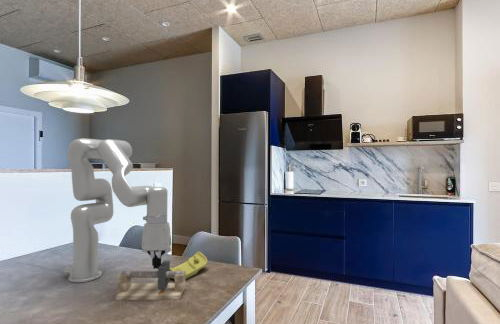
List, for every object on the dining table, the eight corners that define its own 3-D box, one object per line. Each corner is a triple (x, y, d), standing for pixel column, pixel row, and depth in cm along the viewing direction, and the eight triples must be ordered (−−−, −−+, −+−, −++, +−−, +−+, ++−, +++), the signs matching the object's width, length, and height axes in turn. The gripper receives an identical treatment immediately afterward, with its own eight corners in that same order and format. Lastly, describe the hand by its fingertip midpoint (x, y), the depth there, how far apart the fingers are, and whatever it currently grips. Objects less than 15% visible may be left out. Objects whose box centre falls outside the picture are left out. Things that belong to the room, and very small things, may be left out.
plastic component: (179, 278, 120) (164, 263, 124) (175, 291, 122) (160, 277, 126) (211, 261, 136) (196, 249, 141) (206, 273, 138) (192, 261, 143)
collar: (157, 289, 107) (158, 267, 107) (163, 280, 115) (163, 260, 115) (164, 289, 107) (164, 267, 107) (169, 280, 115) (169, 260, 115)
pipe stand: (114, 299, 105) (114, 276, 105) (126, 287, 116) (126, 266, 116) (181, 299, 105) (181, 276, 106) (186, 286, 116) (186, 266, 117)
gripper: (133, 221, 107) (133, 271, 107) (174, 221, 107) (174, 271, 107) (140, 217, 114) (140, 264, 114) (178, 217, 115) (178, 264, 115)
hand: (156, 267), depth 111 cm, fingers closed
